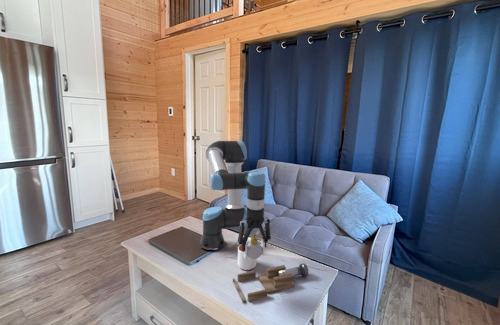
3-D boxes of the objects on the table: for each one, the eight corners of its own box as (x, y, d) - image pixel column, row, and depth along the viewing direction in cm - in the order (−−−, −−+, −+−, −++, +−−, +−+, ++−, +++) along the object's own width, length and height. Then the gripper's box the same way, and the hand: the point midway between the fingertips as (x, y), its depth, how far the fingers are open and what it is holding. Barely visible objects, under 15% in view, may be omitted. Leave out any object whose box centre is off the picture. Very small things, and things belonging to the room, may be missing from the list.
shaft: (275, 277, 117) (276, 266, 116) (301, 271, 122) (302, 261, 121) (281, 285, 112) (282, 273, 111) (308, 278, 117) (308, 267, 116)
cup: (254, 272, 121) (255, 254, 120) (235, 269, 123) (235, 251, 122) (257, 261, 131) (258, 244, 129) (240, 259, 133) (240, 242, 131)
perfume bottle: (242, 258, 106) (242, 233, 104) (253, 249, 114) (253, 225, 112) (256, 263, 102) (257, 237, 100) (267, 253, 110) (267, 229, 108)
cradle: (232, 281, 114) (232, 271, 113) (280, 270, 123) (281, 261, 123) (242, 303, 100) (243, 292, 99) (296, 289, 109) (296, 279, 108)
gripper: (235, 212, 97) (234, 264, 100) (280, 208, 104) (278, 256, 107) (230, 206, 103) (229, 255, 107) (272, 202, 111) (270, 248, 114)
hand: (253, 255), depth 107 cm, fingers closed on perfume bottle, 8 cm apart
